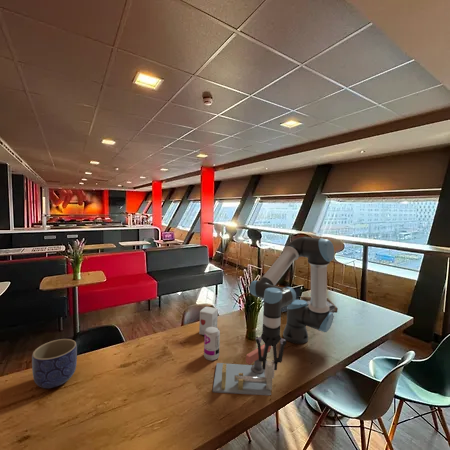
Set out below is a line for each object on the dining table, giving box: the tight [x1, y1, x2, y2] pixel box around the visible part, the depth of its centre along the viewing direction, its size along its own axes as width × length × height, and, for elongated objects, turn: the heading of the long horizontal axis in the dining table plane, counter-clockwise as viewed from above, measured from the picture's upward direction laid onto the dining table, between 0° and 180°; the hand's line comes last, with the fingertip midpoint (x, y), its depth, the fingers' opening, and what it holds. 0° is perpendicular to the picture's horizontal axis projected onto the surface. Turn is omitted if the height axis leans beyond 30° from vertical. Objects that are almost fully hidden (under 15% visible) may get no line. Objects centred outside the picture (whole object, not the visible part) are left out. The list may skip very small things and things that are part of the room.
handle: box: [245, 343, 272, 365], centre depth 121 cm, size 18×5×4 cm, turn 134°
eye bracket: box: [222, 363, 243, 390], centre depth 110 cm, size 9×6×8 cm, turn 86°
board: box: [212, 360, 272, 396], centre depth 115 cm, size 25×19×7 cm
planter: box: [31, 338, 78, 389], centre depth 111 cm, size 17×17×15 cm
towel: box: [306, 300, 336, 314], centre depth 190 cm, size 15×18×8 cm
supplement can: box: [203, 326, 221, 361], centre depth 132 cm, size 8×8×15 cm
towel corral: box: [300, 296, 338, 313], centre depth 207 cm, size 25×22×3 cm
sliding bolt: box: [234, 360, 273, 391], centre depth 109 cm, size 16×3×11 cm, turn 87°
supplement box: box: [198, 306, 219, 336], centre depth 157 cm, size 9×9×15 cm
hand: (269, 375), depth 109 cm, fingers closed on sliding bolt, 2 cm apart
